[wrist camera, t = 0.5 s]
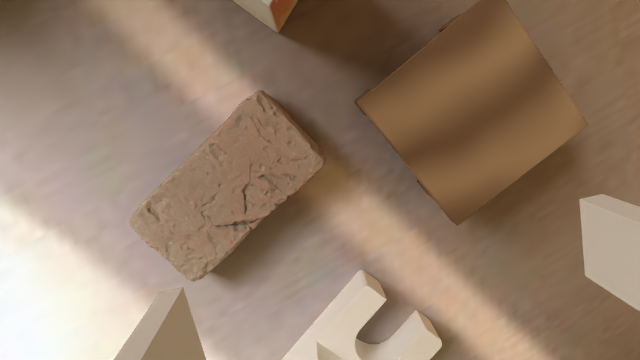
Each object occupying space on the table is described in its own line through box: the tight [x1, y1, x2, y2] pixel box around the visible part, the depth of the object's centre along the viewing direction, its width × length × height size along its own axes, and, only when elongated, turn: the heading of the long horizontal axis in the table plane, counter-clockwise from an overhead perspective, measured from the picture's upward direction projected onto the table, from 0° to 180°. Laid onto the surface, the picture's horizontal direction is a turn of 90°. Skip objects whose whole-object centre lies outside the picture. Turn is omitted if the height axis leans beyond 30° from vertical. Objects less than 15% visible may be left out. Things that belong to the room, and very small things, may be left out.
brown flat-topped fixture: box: [354, 0, 588, 226], centre depth 33 cm, size 12×12×8 cm
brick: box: [130, 90, 325, 281], centre depth 36 cm, size 17×8×5 cm, turn 134°
